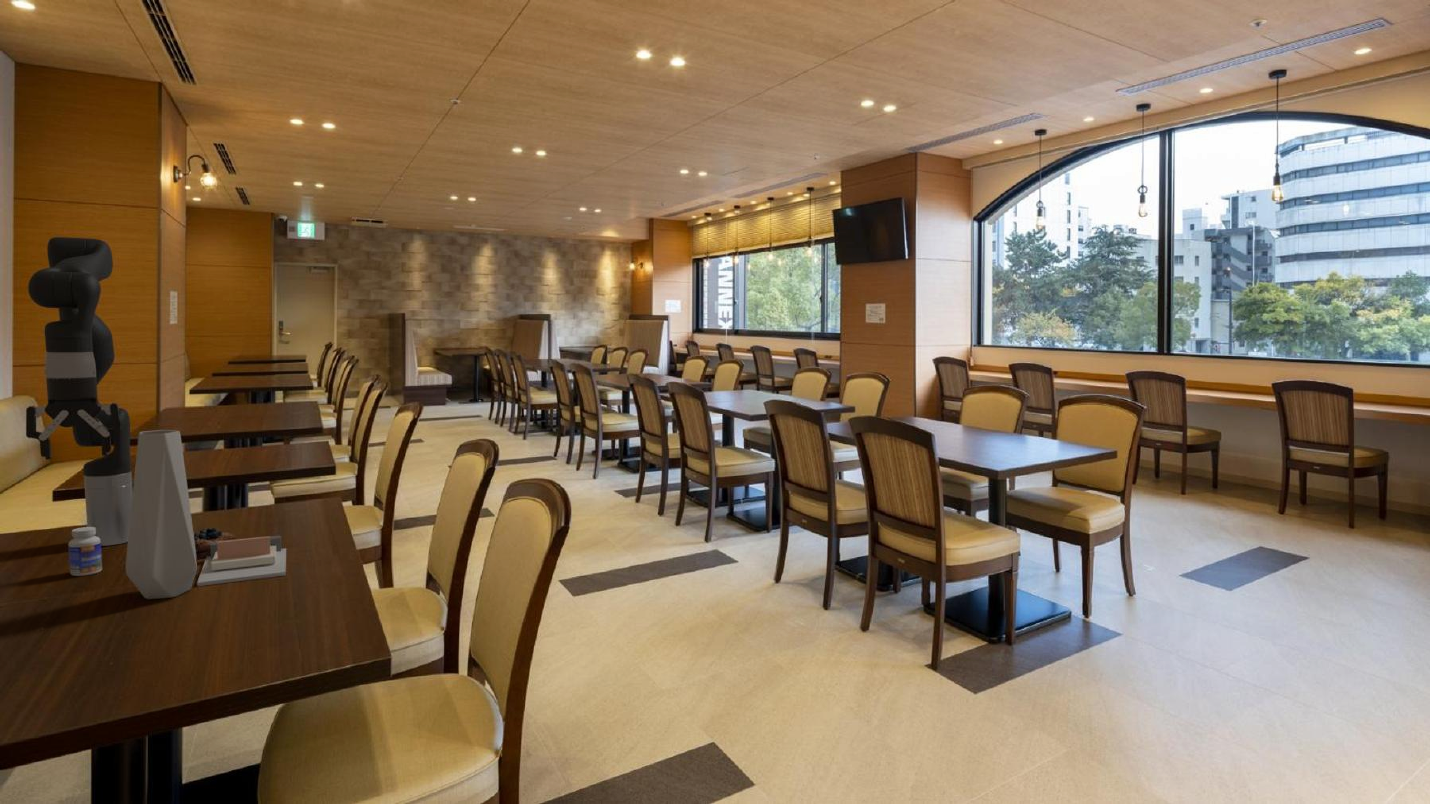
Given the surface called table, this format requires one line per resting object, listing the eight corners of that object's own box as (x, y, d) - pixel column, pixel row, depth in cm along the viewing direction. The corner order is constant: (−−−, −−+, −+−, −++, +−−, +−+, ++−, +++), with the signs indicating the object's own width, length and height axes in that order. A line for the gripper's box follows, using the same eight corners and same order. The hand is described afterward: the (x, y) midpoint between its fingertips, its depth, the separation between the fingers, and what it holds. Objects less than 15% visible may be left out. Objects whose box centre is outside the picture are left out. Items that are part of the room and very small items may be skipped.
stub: (213, 564, 170) (212, 540, 169) (275, 557, 175) (274, 534, 175) (211, 570, 165) (210, 546, 165) (275, 563, 171) (274, 539, 171)
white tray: (206, 559, 176) (206, 543, 176) (286, 551, 184) (285, 534, 184) (197, 586, 159) (196, 567, 158) (285, 575, 166) (284, 557, 166)
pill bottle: (84, 577, 163) (81, 533, 162) (63, 575, 164) (60, 531, 163) (108, 569, 168) (106, 526, 167) (88, 567, 169) (86, 524, 169)
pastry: (163, 556, 179) (162, 532, 178) (214, 543, 190) (213, 520, 190) (195, 562, 175) (193, 537, 174) (244, 549, 186) (243, 525, 185)
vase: (218, 587, 158) (210, 429, 155) (162, 605, 147) (152, 437, 144) (176, 579, 162) (168, 426, 159) (118, 597, 151) (108, 433, 148)
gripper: (118, 373, 156) (123, 451, 158) (25, 374, 148) (31, 457, 149) (116, 375, 150) (121, 456, 152) (19, 377, 142) (25, 463, 143)
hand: (77, 457), depth 151 cm, fingers open, 8 cm apart
